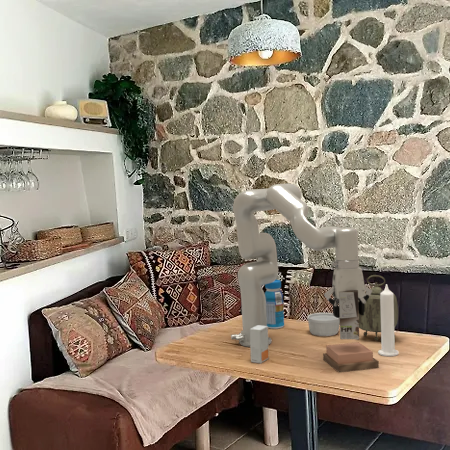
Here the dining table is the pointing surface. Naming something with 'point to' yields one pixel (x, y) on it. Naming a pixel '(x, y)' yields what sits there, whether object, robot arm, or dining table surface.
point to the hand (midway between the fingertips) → (349, 315)
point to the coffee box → (349, 314)
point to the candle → (387, 323)
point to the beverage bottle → (274, 305)
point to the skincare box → (259, 344)
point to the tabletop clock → (375, 310)
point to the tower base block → (350, 364)
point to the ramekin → (323, 324)
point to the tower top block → (349, 353)
